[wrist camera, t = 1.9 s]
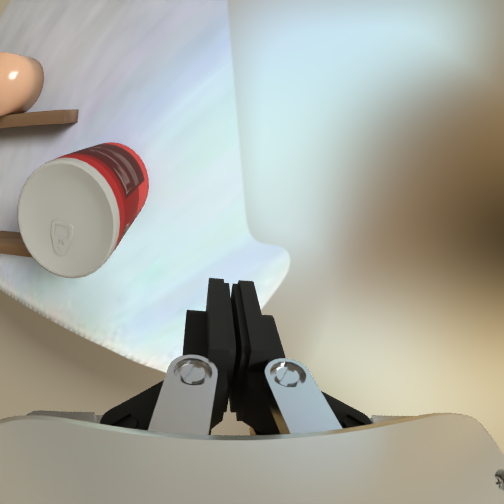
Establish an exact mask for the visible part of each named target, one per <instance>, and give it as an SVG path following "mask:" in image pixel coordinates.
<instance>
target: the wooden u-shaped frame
mask: <svg viewBox="0 0 504 504" xmlns="http://www.w3.org/2000/svg"><path fill="white" fill-rule="evenodd" d="M77 120H78V110H54V111H41V112H30V113H20V114H11V115H4V116H0V128H8V127H19V126H31V125H46V124H65V123H73V122H77ZM0 253H3V254H11V255H19V256H26V257H32V255H31V254H30V253H29V251H28V250H27V248H26V246H25V244H24V242H23V239H22V237H21V234H20V233H19V232H8V231H0Z"/></svg>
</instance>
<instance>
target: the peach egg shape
mask: <svg viewBox="0 0 504 504" xmlns="http://www.w3.org/2000/svg"><path fill="white" fill-rule="evenodd" d="M43 83H44V72H43V68H42V66H41V64H40V63H39V62H38V61H37V60H36V59H34V58H30V57H26V56H21V55H16V54H11V53H5V52H0V116H4V115H11V114H20V113H23V112H25V111H27V110H28V109H30V108H31V107H32V106H33V105H34V104H35V102H36V101H37V99H38V98H39V96H40V93H41V91H42V88H43Z"/></svg>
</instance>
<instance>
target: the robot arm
mask: <svg viewBox="0 0 504 504" xmlns="http://www.w3.org/2000/svg"><path fill="white" fill-rule="evenodd" d="M228 399H229V401H230V411H231V412H236V416H237V421H243V422H244V423H246V424H247V425H249V426H250V428H249V430H250V435H251V436H223V435H222V436H221V435H211V429H212V428H213V427H214V426H216V425H217V424H218V423H219V422H221V421H222V419H223V414H224V412H226V411H227V405H228ZM0 504H504V454H503V453H502V451H501V450H500V448H499V446H498V445H497V444H496V442H495V441H494V439H493V438H492V436H491V435H490V434H489V433H488V431H487V430H486V429H485V428H484V427H483V426H482V424H481V423H480V422H478V421H477V420H476V419H474V418H472V417H470V416H467V415H463V414H456V413H433V414H425V415H419V416H376V415H373V416H372V417H371V418H368V417H367V416H366V415H365V414H363V413H361V412H360V411H358V410H356V409H354V408H352V407H350V406H348V405H346V404H344V403H343V402H341V401H339V400H337V399H335V398H333V397H331V396H329V395H328V394H326V393H324V392H322V391H321V390H320V389H319V387H318V385H317V384H316V382H315V380H314V378H313V377H312V375H311V373H310V371H309V370H308V369H307V367H306V366H304V365H303V364H302V363H300V362H298V361H296V360H293V359H288V358H285V355H284V351H283V348H282V345H281V341H280V338H279V334H278V331H277V328H276V324H275V321H274V318H273V316H271V315H262V314H261V310H260V306H259V302H258V298H257V294H256V290H255V286H254V282H253V281H240V280H239V281H238V284H233V286H232V292H231V298H230V289H229V283H224V279H215V278H209V284H208V294H207V305H206V311H194V310H187V314H186V324H185V334H184V346H183V356H180V357H178V358H176V359H175V360H173V361H172V362H171V364H170V365H169V367H168V370H167V373H166V376H165V379H164V380H163V381H161V382H160V383H158V384H156V385H154V386H152V387H151V388H149V389H147V390H145V391H144V392H142V393H140V394H138V395H137V396H135V397H133V398H131V399H129V400H127V401H125V402H123V403H122V404H120V405H118V406H116V407H114V408H112V409H110V410H109V411H107V412H106V413H105V414H104V415H95V413H94V412H59V411H33V412H31V413H29V414H27V415H24V416H13V417H8V418H4V419H1V420H0Z"/></svg>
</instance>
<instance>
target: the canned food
mask: <svg viewBox="0 0 504 504" xmlns="http://www.w3.org/2000/svg"><path fill="white" fill-rule="evenodd" d="M148 189H149V183H148V175H147V170H146V168H145V166H144V163H143V162H142V160H141V159H140V157H139V156H138V155H137V154H136V153H135V152H134V151H133V150H132V149H130V148H129V147H127V146H125V145H122V144H119V143H112V142H111V143H103V144H99V145H96V146H93V147H89V148H86V149H83V150H79V151H76V152H73V153H70V154H67V155H64V156H61V157H59V158H56V159H54V160H51V161H49V162H46V163H45V164H44V165H42V166H40V167H39V168H38V169H36V170H35V171H34V172H33V173H32V174H31V175H30V176H29V178H28V179H27V181H26V182H25V184H24V186H23V188H22V191H21V194H20V197H19V202H18V208H17V213H18V225H19V231H20V234H21V237H22V239H23V242H24V244H25V246H26V248H27V250H28V251H29V253H30V254H31V255H32V257H33V258H34V259H35V260H36V261H37V262H38V263H39V264H40V265H41V266H42V267H43V268H45V269H46V270H48V271H49V272H51V273H53V274H56V275H58V276H62V277H66V278H79V277H84V276H87V275H89V274H91V273H93V272H95V271H96V270H97V269H99V268H100V267H101V266H102V265H103V264H104V263H105V262H106V261H107V259H108V258H109V257H110V256H111V254H112V253H113V251H114V250H115V249H116V247H117V246H118V244H119V242H120V241H121V239H122V238H123V236H124V235H125V233H126V232H127V230H128V229H129V227H130V226H131V224H132V223H133V221H134V220H135V218H136V217H137V215H138V214H139V212H140V211H141V209H142V207H143V206H144V204H145V201H146V198H147V195H148Z"/></svg>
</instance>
